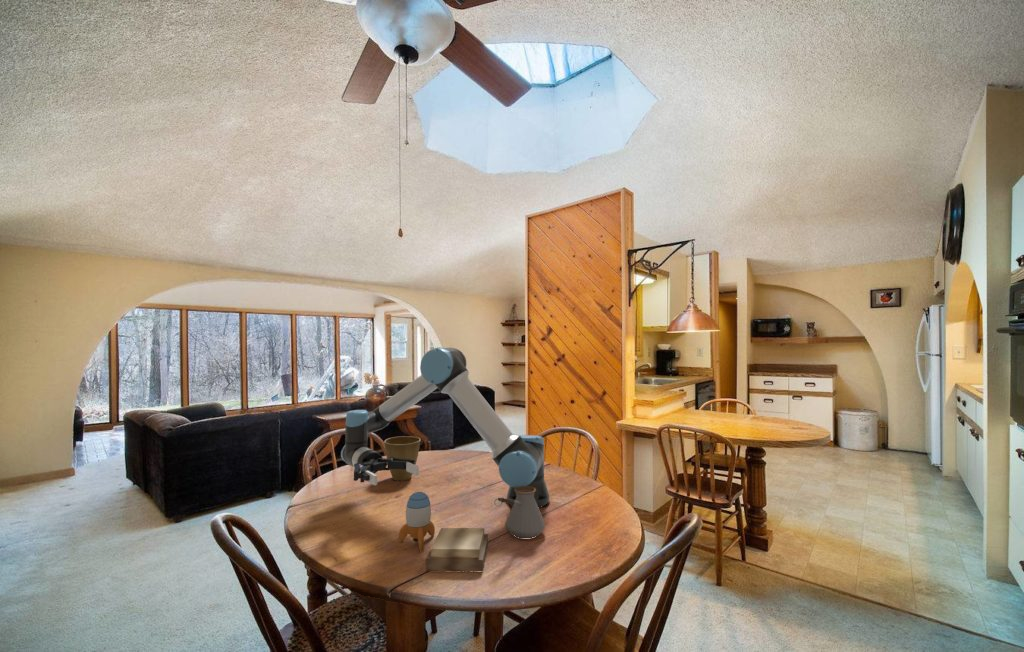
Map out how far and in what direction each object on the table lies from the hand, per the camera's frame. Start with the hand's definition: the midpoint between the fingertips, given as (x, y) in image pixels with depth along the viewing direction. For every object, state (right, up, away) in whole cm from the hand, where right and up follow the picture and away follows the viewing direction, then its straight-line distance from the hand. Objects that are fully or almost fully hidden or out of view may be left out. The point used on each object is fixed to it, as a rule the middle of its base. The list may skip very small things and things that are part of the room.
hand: (397, 475), depth 126 cm
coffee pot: (+36, -16, -7) cm, 40 cm away
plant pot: (-12, -19, +50) cm, 55 cm away
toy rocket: (+7, -16, -8) cm, 19 cm away
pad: (+21, -16, -17) cm, 31 cm away
